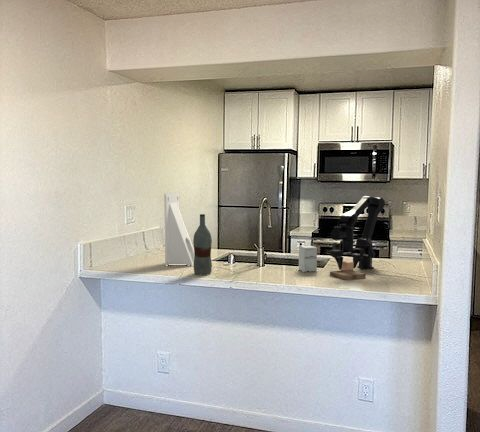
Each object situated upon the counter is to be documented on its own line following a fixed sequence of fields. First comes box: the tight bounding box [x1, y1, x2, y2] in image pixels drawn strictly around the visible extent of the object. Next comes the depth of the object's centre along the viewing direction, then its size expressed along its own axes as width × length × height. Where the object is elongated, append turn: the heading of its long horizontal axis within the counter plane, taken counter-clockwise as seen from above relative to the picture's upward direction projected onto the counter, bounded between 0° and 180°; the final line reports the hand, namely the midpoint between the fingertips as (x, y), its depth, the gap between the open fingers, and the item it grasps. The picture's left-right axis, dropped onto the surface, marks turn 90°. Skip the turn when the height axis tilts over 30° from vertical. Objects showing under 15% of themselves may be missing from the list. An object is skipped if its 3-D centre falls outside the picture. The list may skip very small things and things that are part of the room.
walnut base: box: [329, 270, 366, 281], centre depth 226 cm, size 12×12×2 cm
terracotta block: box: [341, 260, 355, 271], centre depth 240 cm, size 4×4×5 cm
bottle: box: [192, 213, 213, 276], centre depth 233 cm, size 9×9×30 cm
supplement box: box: [298, 245, 318, 273], centre depth 242 cm, size 7×7×13 cm
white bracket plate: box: [163, 192, 195, 265], centre depth 259 cm, size 20×14×40 cm
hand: (347, 268), depth 240 cm, fingers open, 9 cm apart
